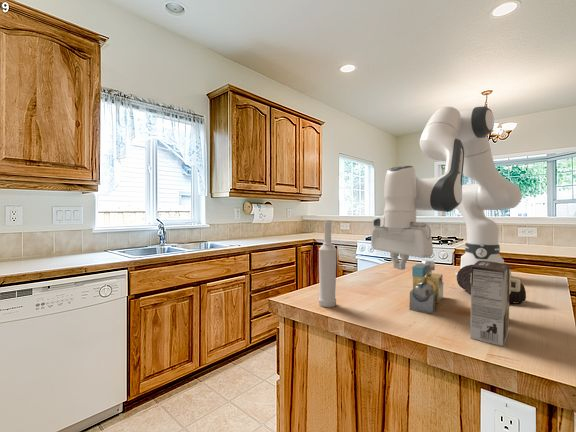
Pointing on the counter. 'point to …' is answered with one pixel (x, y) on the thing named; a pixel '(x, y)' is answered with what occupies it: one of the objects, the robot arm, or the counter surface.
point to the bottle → (327, 269)
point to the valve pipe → (426, 292)
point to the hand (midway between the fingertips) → (399, 268)
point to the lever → (423, 268)
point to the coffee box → (490, 302)
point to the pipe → (465, 283)
